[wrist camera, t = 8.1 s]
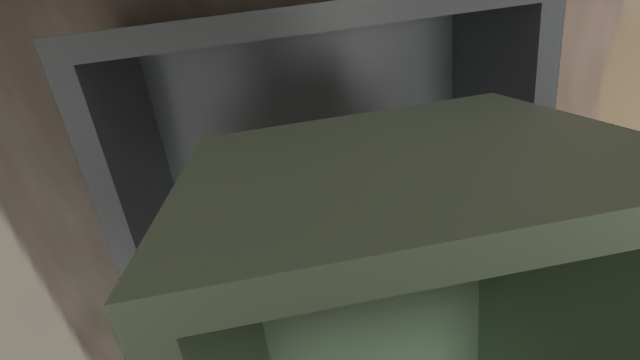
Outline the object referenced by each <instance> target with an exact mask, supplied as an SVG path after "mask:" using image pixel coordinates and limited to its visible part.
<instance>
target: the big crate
mask: <svg viewBox="0 0 640 360" xmlns="http://www.w3.org/2000/svg"><path fill="white" fill-rule="evenodd" d="M565 7H566V0H335V1H327V2H319V3H311V4H303V5H295V6H287V7H280V8H272V9H264V10H256V11H248V12H240V13H232V14H225V15H217V16H209V17H201V18H193V19H185V20H178V21H170V22H162V23H154V24H146V25H138V26H130V27H123V28H115V29H107V30H99V31H91V32H83V33H75V34H68V35H60V36H52V37H44V38H36V39H33V42H34V45H35V47H36V50H37V53H38V55H39V58H40V61H41V64H42V66H43V69H44V72H45V74H46V77H47V80H48V83H49V85H50V88H51V91H52V93H53V96H54V99H55V102H56V104H57V107H58V110H59V112H60V115H61V118H62V120H63V123H64V126H65V129H66V131H67V134H68V137H69V139H70V142H71V145H72V148H73V150H74V153H75V156H76V158H77V161H78V164H79V166H80V169H81V172H82V175H83V177H84V180H85V183H86V185H87V188H88V191H89V194H90V196H91V199H92V202H93V204H94V207H95V210H96V212H97V215H98V218H99V221H100V223H101V226H102V229H103V231H104V234H105V237H106V240H107V242H108V245H109V248H110V250H111V253H112V256H113V258H114V261H115V264H116V267H117V269H118V272H119V275H120V277H121V276H122V274H123V272H124V270H125V269H126V267H127V265H128V264H129V262H130V260H131V258H132V257H133V255H134V253H135V251H136V250H137V248H138V246H139V245H140V243H141V241H142V239H143V238H144V236H145V234H146V233H147V231H148V229H149V227H150V226H151V224H152V222H153V220H154V219H155V217H156V215H157V214H158V212H159V210H160V208H161V207H162V205H163V203H164V202H165V200H166V198H167V196H168V195H169V193H170V191H171V189H172V188H173V186H174V184H175V183H176V181H177V179H178V177H179V176H180V174H181V172H182V170H183V169H184V167H185V165H186V164H187V162H188V160H189V158H190V157H191V155H192V153H193V152H194V150H195V148H196V146H197V145H198V143H199V141H200V139H201V138H203V137H209V136H215V135H222V134H228V133H235V132H241V131H248V130H254V129H261V128H267V127H274V126H280V125H287V124H293V123H300V122H306V121H313V120H319V119H326V118H332V117H339V116H345V115H352V114H358V113H365V112H371V111H378V110H384V109H391V108H397V107H403V106H410V105H416V104H423V103H429V102H436V101H442V100H449V99H455V98H462V97H468V96H475V95H481V94H488V93H496V94H499V95H503V96H507V97H511V98H515V99H518V100H522V101H526V102H530V103H534V104H537V105H541V106H545V107H549V108H553V109H555V107H556V97H557V87H558V77H559V67H560V57H561V47H562V37H563V27H564V17H565Z"/></svg>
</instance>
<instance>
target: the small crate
mask: <svg viewBox="0 0 640 360" xmlns="http://www.w3.org/2000/svg"><path fill="white" fill-rule="evenodd" d="M104 306H105V309H106V312H107V314H108V317H109V319H110V322H111V324H112V327H113V329H114V332H115V334H116V337H117V339H118V342H119V344H120V347H121V349H122V352H123V355H124V357H125V360H640V131H636V130H633V129H629V128H625V127H621V126H617V125H614V124H609V123H606V122H602V121H598V120H595V119H591V118H587V117H583V116H579V115H576V114H572V113H568V112H564V111H560V110H557V109H553V108H549V107H545V106H541V105H537V104H534V103H530V102H526V101H522V100H518V99H515V98H511V97H507V96H503V95H499V94H496V93H488V94H481V95H475V96H468V97H462V98H455V99H449V100H442V101H436V102H429V103H423V104H416V105H410V106H403V107H397V108H391V109H384V110H378V111H371V112H365V113H358V114H352V115H345V116H339V117H332V118H326V119H319V120H313V121H306V122H300V123H293V124H287V125H280V126H274V127H267V128H261V129H254V130H248V131H241V132H235V133H228V134H222V135H215V136H209V137H203V138H201V139H200V141H199V143H198V145H197V146H196V148H195V150H194V152H193V153H192V155H191V157H190V158H189V160H188V162H187V164H186V165H185V167H184V169H183V170H182V172H181V174H180V176H179V177H178V179H177V181H176V183H175V184H174V186H173V188H172V189H171V191H170V193H169V195H168V196H167V198H166V200H165V202H164V203H163V205H162V207H161V208H160V210H159V212H158V214H157V215H156V217H155V219H154V220H153V222H152V224H151V226H150V227H149V229H148V231H147V233H146V234H145V236H144V238H143V239H142V241H141V243H140V245H139V246H138V248H137V250H136V251H135V253H134V255H133V257H132V258H131V260H130V262H129V264H128V265H127V267H126V269H125V270H124V272H123V274H122V276H121V277H120V279H119V281H118V282H117V284H116V286H115V288H114V289H113V291H112V293H111V295H110V296H109V298H108V300H107V301H106V303H105V305H104Z"/></svg>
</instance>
